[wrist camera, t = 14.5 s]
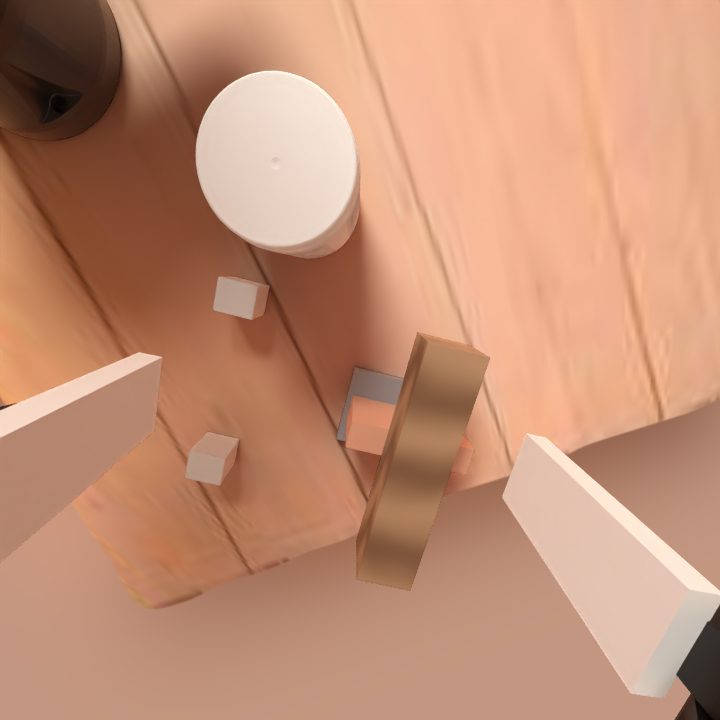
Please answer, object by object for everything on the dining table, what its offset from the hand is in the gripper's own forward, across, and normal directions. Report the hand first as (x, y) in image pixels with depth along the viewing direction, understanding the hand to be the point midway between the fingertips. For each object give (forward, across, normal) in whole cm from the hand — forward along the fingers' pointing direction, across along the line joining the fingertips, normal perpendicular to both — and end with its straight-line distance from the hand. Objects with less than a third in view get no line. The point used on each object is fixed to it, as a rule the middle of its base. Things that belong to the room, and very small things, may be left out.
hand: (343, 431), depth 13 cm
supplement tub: (+26, -6, +10) cm, 28 cm away
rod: (+17, +8, -8) cm, 20 cm away
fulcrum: (+25, +8, -8) cm, 27 cm away
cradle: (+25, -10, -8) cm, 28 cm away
